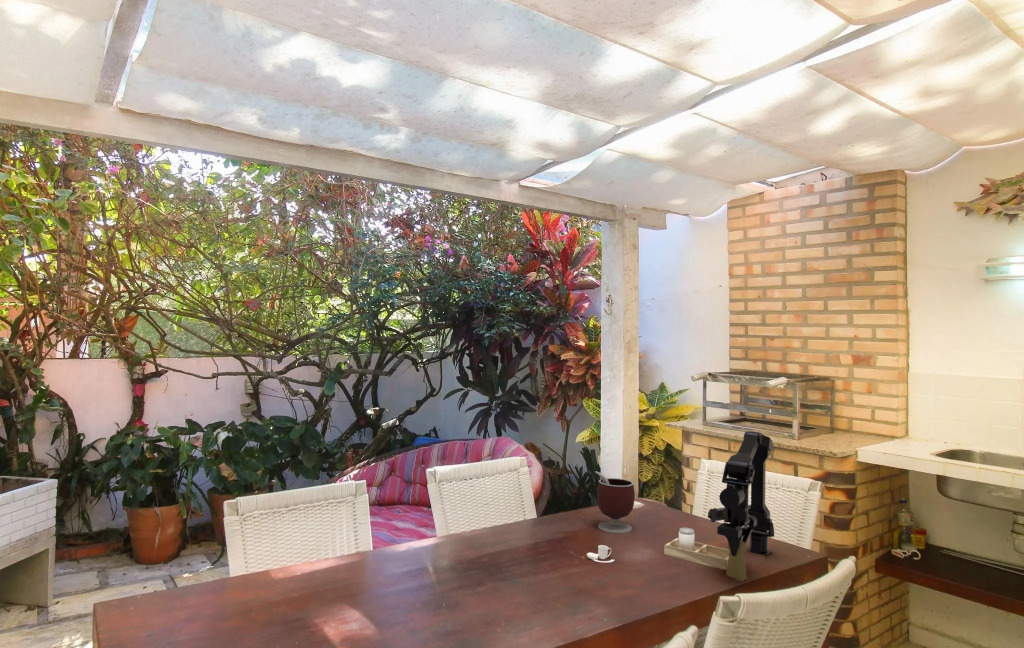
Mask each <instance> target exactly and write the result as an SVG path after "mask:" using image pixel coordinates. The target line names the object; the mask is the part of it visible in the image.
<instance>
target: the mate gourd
mask: <svg viewBox="0 0 1024 648" xmlns="http://www.w3.org/2000/svg"><path fill="white" fill-rule="evenodd" d="M594 473H595V474H597V475H598V476H599V478H600V479H599V480H598V484H597V489H596V500H597V501H596V502H597V507H598V509H599V511H600V512H601V513H602V514H603V515H604V516H606V517H608V518H610V521H603V522H600V523H598V525H597V527H598V529H599V530H601V531H603V532H606V533H613V534H626V533H629V532H631V531H632V526H631V525H630V524H627V523H625V522H621V521H620V520H619V519H622V518H625V517H628V516H629V515H630V514H631V512H633V510H634V506H635V501H636V499H635V497H636V493H635V492H636V491H635V486H634V484H635V483H634V482H633V481H632V480H629V479H625V478H617V477H616V478H614V477H612V478H611V477H606V476H605V475H604V474H602V473H601V472H599V471H594Z"/></svg>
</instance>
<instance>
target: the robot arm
mask: <svg viewBox="0 0 1024 648" xmlns="http://www.w3.org/2000/svg"><path fill="white" fill-rule="evenodd" d="M773 446H774V441H773V440H772V438H771V437H769V436H767V435H764V434H763V433H762V432H761V433H760V431H750V430H748V431H745V432H744V434H743V439H742V442H741V444H740V446H739V448H738V451H737V453H736V454H733V455H730V457H729V458H728V459H727V461H726V462H725V464H724V469H723V473H722V474H723V475H722V479H721V483H722V484H726V488H724V489H722V491H721V492H720V493H719V497H718V498H719V501H720V504H721V505H723V507H717V508H716V507H713V508H710V509H708V512H707V518H708V519H709V520H710V523H716V522H718V521H723V523H721V524H720V525H718V526H716V534H717V535H720V536H724V537H725V538H726V540H727V544H728V543H729V547H730V551H731V554H732V556H736V554H737V552H738V549H739V547H740V544H741V542H742V541H743V542H745V544H746V545H747V542H748V539H749V547H748V548H746V551H745V552H750V553H754V554H758V555H759V554H760V555H763V556H764V557H766V556H768V555H769V554H770V553H771V551H772V550H771V549H769V548H768V545H769V541H768V540H769V538H774V537H775V527H774V523H773V519H772V518H771V512H770V510H769V508H768V506H767V505H766V468H767V467H766V463H767V460H768V459H769V457H770V456H771V453H772V451H773V448H774V447H773ZM749 487H750V488H749ZM749 490H750V491H749ZM749 492H750V493H749ZM749 494H750V504H749Z"/></svg>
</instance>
